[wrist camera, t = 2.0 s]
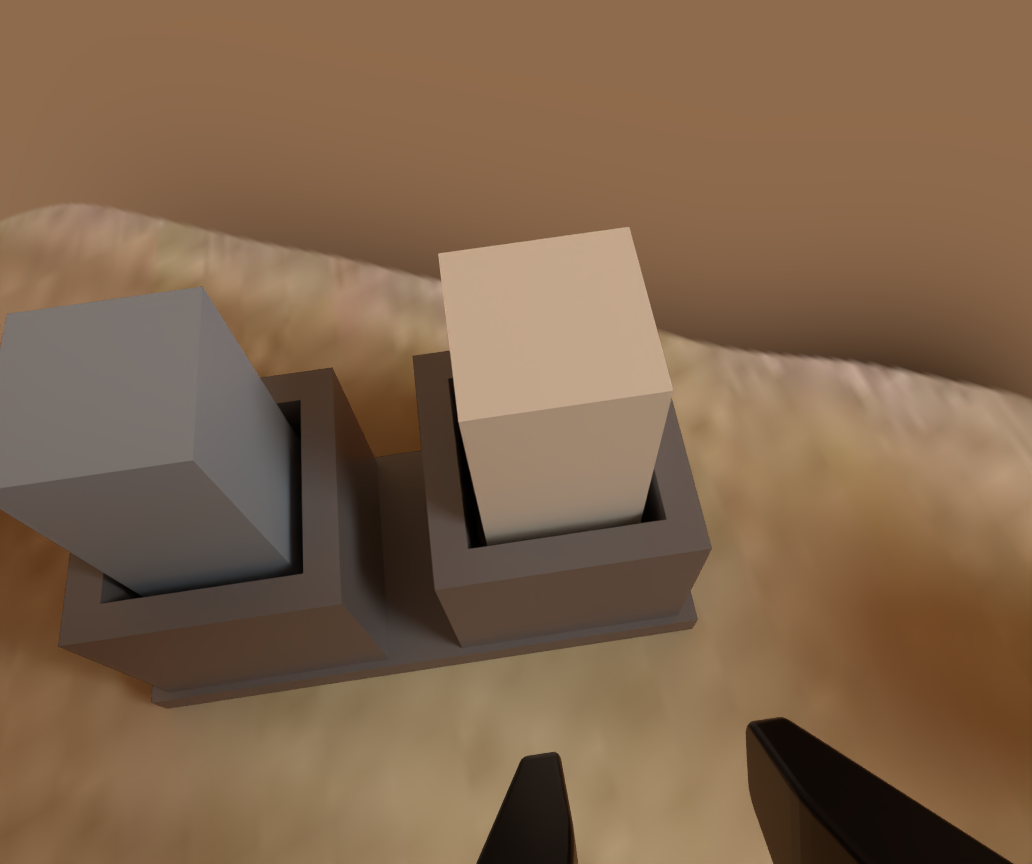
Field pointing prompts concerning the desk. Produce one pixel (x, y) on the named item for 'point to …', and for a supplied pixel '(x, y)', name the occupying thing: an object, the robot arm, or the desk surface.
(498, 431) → the beige block
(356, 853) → the desk surface
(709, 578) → the desk surface
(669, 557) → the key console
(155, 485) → the slate key
